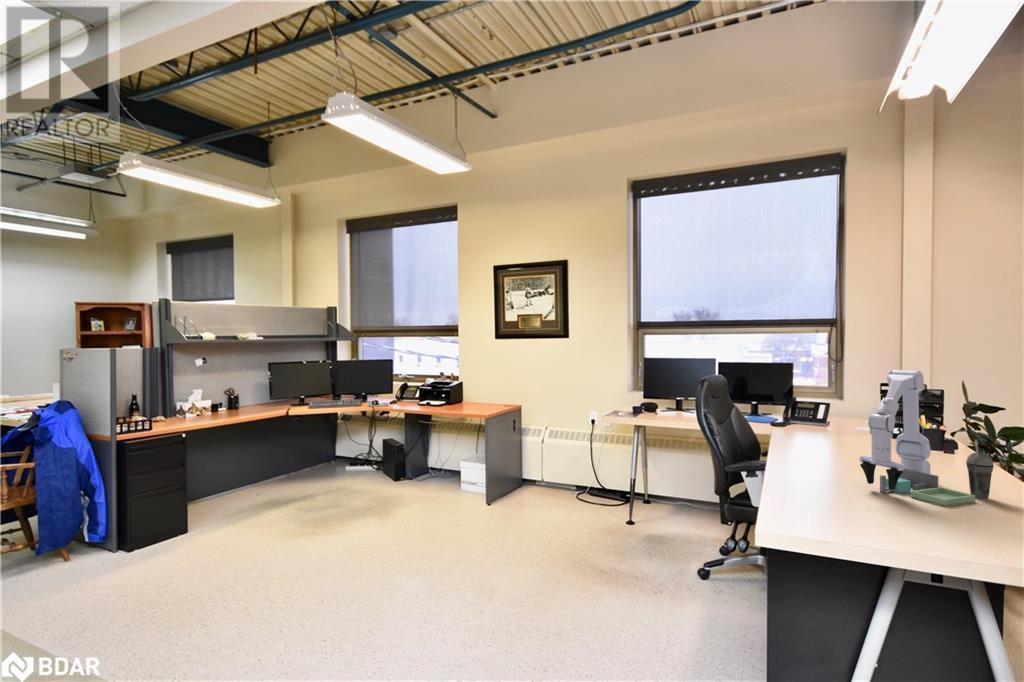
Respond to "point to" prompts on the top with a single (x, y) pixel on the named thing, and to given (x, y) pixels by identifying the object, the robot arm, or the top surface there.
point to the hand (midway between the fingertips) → (881, 486)
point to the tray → (943, 496)
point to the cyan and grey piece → (900, 486)
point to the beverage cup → (979, 473)
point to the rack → (920, 479)
